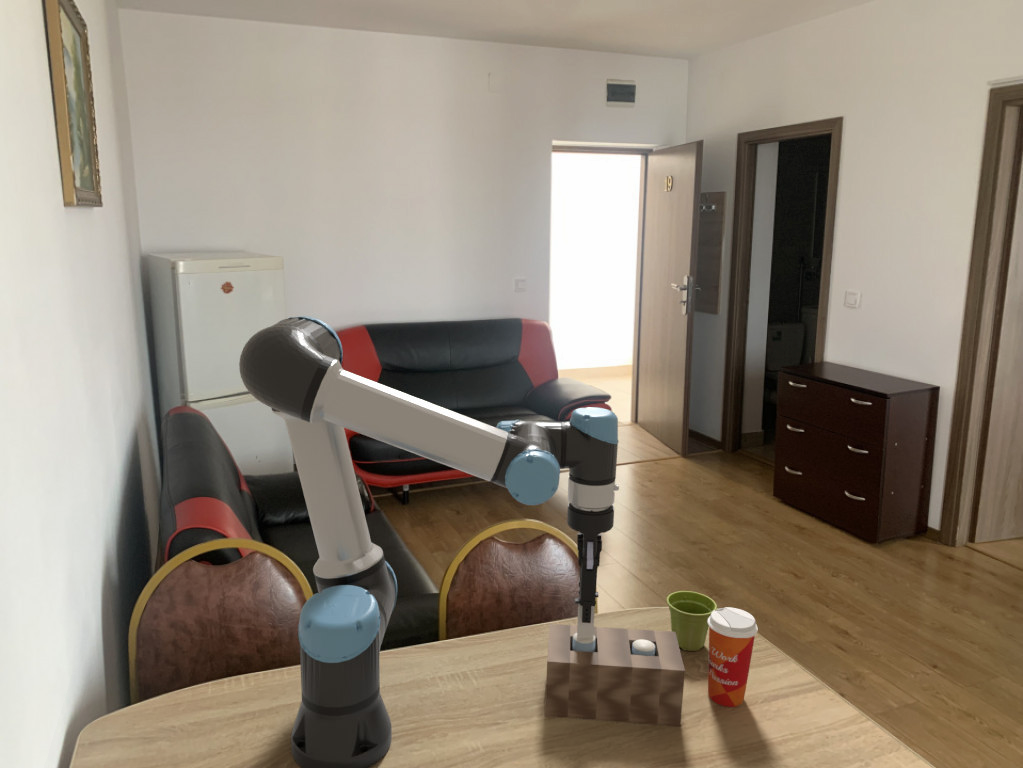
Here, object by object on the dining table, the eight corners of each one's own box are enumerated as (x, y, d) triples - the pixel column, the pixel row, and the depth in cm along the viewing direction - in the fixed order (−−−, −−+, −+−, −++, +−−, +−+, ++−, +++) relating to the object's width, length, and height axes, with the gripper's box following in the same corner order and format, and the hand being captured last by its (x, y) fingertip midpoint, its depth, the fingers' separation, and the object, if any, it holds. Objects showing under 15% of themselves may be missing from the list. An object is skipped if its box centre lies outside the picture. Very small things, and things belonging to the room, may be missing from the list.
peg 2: (629, 704, 130) (633, 650, 128) (628, 691, 134) (631, 638, 132) (652, 706, 130) (656, 652, 128) (650, 693, 134) (654, 640, 132)
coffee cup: (691, 689, 136) (697, 611, 133) (727, 678, 139) (734, 601, 136) (724, 717, 128) (732, 634, 125) (761, 704, 132) (770, 623, 129)
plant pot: (704, 630, 156) (707, 590, 154) (719, 656, 147) (723, 614, 145) (658, 630, 155) (661, 590, 153) (670, 656, 146) (674, 614, 144)
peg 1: (570, 696, 131) (572, 642, 129) (570, 683, 135) (572, 630, 132) (592, 698, 131) (595, 644, 128) (592, 685, 134) (595, 632, 132)
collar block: (544, 716, 127) (547, 661, 125) (547, 674, 139) (549, 623, 137) (680, 726, 126) (684, 670, 124) (671, 683, 138) (675, 631, 135)
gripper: (616, 519, 119) (609, 658, 124) (612, 490, 132) (605, 617, 136) (567, 517, 119) (562, 655, 124) (568, 488, 132) (563, 615, 137)
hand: (585, 635), depth 130 cm, fingers closed
